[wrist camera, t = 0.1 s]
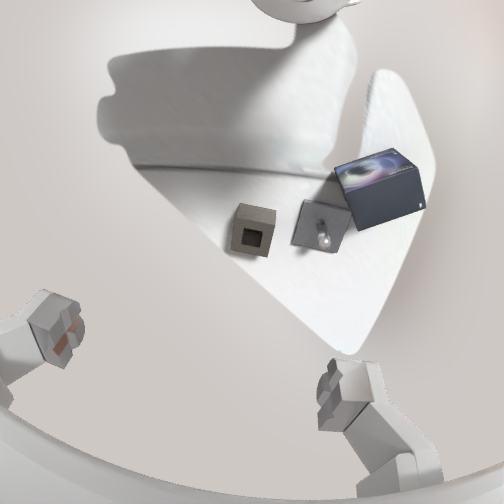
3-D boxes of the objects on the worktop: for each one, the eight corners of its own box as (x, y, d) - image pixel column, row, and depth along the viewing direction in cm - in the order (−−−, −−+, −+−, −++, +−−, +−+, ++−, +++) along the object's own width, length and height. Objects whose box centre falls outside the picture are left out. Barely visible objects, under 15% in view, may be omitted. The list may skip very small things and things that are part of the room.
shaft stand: (304, 199, 47) (306, 216, 42) (350, 210, 47) (358, 228, 42) (292, 240, 51) (293, 261, 46) (336, 249, 51) (341, 270, 46)
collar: (240, 203, 48) (235, 217, 44) (276, 210, 48) (275, 225, 44) (234, 234, 52) (230, 250, 48) (269, 240, 52) (267, 257, 48)
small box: (393, 144, 40) (419, 165, 31) (403, 181, 43) (428, 209, 34) (332, 165, 43) (344, 191, 34) (345, 201, 46) (358, 234, 37)
